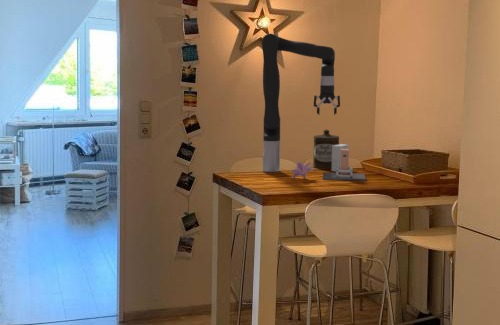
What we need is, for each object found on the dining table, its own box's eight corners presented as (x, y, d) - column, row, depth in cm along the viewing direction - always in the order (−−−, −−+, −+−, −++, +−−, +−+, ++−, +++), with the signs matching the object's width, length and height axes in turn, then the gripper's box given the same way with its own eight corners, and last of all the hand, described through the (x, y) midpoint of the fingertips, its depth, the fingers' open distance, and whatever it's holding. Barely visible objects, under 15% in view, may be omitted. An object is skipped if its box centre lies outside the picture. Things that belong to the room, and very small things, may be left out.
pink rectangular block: (340, 174, 329) (340, 148, 327) (347, 174, 328) (348, 148, 326) (340, 176, 322) (341, 150, 320) (348, 176, 322) (348, 150, 320)
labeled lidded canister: (312, 168, 354) (313, 130, 351) (314, 164, 369) (314, 128, 365) (338, 169, 352) (339, 131, 349) (339, 165, 366) (339, 128, 363)
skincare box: (341, 169, 351) (341, 143, 349) (349, 171, 347) (349, 144, 345) (330, 171, 346) (331, 144, 344) (338, 172, 342) (339, 145, 339)
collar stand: (322, 179, 319) (323, 170, 318) (323, 174, 335) (323, 165, 334) (366, 180, 316) (366, 171, 316) (364, 175, 332) (364, 166, 331)
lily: (317, 180, 323) (312, 163, 325) (315, 175, 311) (309, 158, 314) (295, 187, 324) (290, 170, 327) (292, 182, 313) (287, 164, 316)
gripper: (340, 84, 335) (339, 114, 338) (314, 84, 337) (313, 114, 339) (340, 84, 328) (339, 115, 330) (313, 84, 330) (313, 115, 332)
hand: (326, 114), depth 335 cm, fingers open, 8 cm apart
